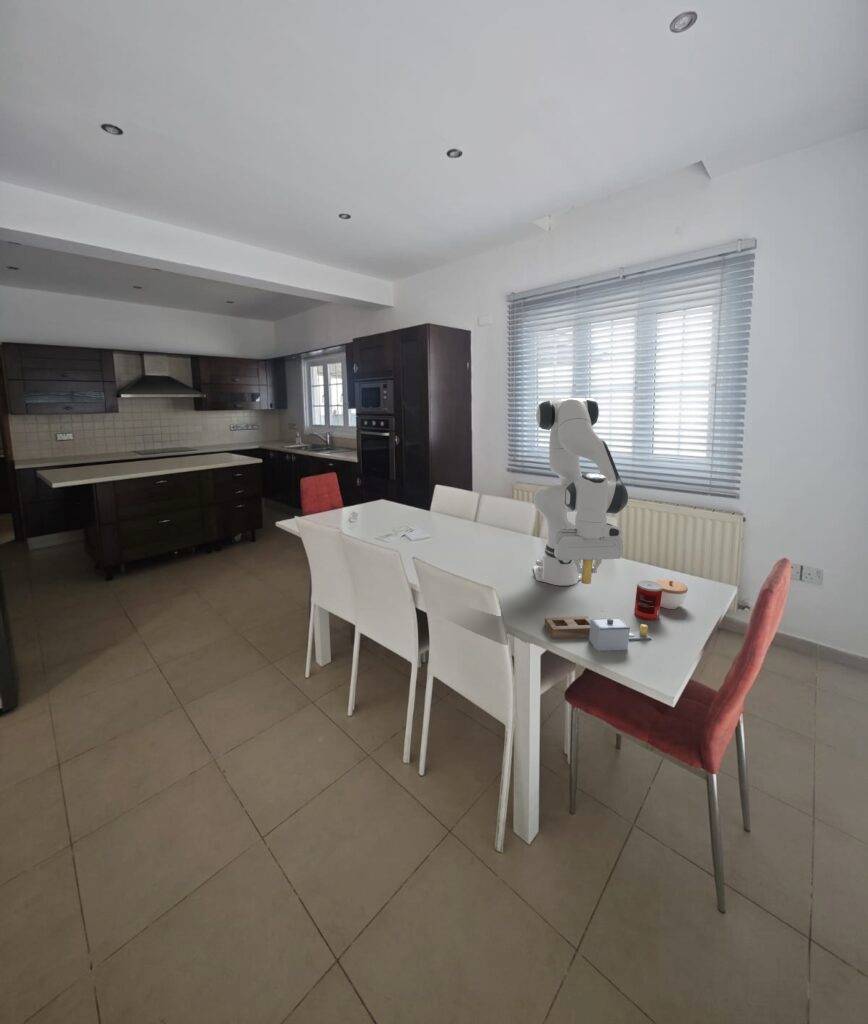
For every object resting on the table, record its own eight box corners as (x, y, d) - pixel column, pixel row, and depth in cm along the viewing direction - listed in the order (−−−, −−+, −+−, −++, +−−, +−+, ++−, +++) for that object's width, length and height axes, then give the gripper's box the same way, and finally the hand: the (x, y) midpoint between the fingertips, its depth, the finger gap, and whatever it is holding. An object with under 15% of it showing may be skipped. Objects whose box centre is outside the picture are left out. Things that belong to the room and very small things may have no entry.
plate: (622, 634, 141) (623, 623, 141) (644, 633, 142) (645, 622, 141) (628, 640, 138) (630, 629, 137) (651, 639, 138) (652, 628, 137)
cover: (588, 640, 138) (591, 615, 136) (617, 639, 138) (620, 614, 137) (597, 650, 132) (600, 625, 130) (627, 649, 133) (630, 624, 131)
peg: (579, 580, 141) (581, 556, 139) (588, 580, 141) (590, 555, 139) (583, 584, 138) (585, 559, 136) (592, 583, 138) (594, 558, 136)
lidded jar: (666, 613, 156) (669, 587, 154) (644, 600, 166) (647, 576, 164) (692, 610, 159) (695, 584, 156) (669, 597, 169) (672, 573, 166)
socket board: (544, 626, 146) (544, 617, 146) (586, 624, 148) (587, 616, 147) (552, 638, 139) (553, 629, 138) (597, 636, 140) (598, 627, 139)
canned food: (651, 610, 158) (655, 580, 156) (663, 620, 151) (667, 589, 148) (629, 610, 158) (633, 580, 156) (640, 620, 150) (644, 589, 148)
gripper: (559, 532, 132) (557, 577, 135) (627, 530, 134) (623, 575, 137) (552, 526, 138) (549, 570, 141) (617, 525, 140) (613, 568, 143)
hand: (586, 572), depth 139 cm, fingers closed on peg, 3 cm apart
